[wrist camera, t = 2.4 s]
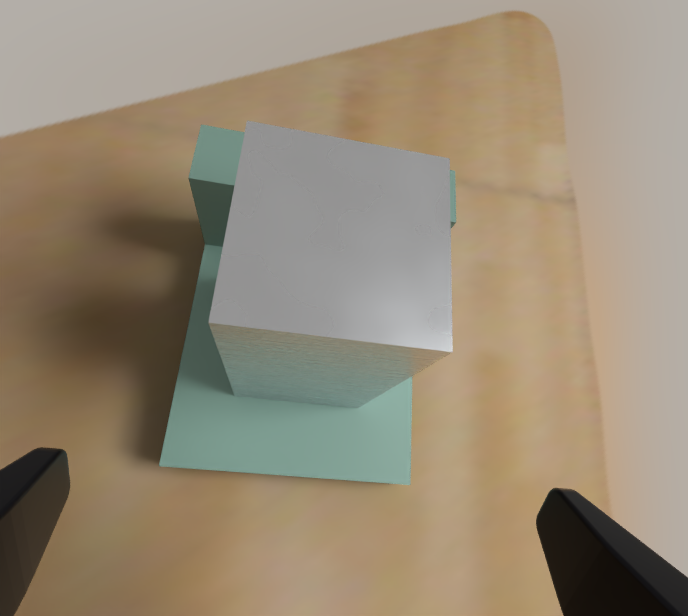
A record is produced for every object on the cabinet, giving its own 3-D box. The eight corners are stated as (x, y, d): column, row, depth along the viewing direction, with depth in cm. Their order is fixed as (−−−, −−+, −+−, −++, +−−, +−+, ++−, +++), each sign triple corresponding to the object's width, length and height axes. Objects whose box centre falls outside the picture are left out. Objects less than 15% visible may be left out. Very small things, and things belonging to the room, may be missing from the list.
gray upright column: (358, 408, 19) (452, 351, 10) (235, 396, 18) (208, 322, 9) (364, 296, 21) (449, 158, 11) (253, 281, 20) (247, 120, 11)
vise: (396, 483, 20) (461, 491, 14) (168, 466, 19) (120, 466, 12) (402, 250, 24) (454, 170, 18) (217, 221, 23) (201, 124, 16)
